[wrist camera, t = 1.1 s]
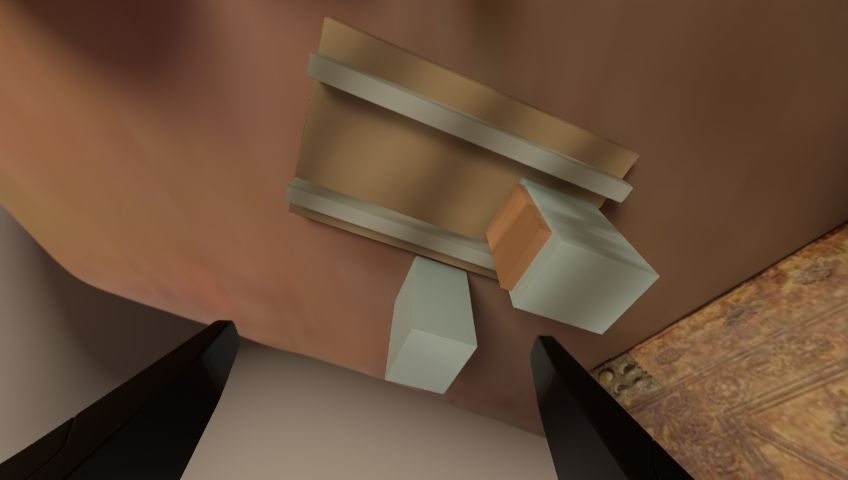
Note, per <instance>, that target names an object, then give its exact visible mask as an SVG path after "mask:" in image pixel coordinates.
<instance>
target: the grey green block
mask: <svg viewBox="0 0 848 480" xmlns="http://www.w3.org/2000/svg"><path fill="white" fill-rule="evenodd" d="M476 348H477V341H476V334H475V327H474V320H473V313H472V307H471V300H470V293H469V286H468V279H467V272H466V271H463V270H460V269H457V268H454V267H451V266H448V265H445V264H442V263H439V262H436V261H433V260H430V259H426V258H423V257H420V256H416V258H415V260H414V262H413V264H412V266H411V268H410V271H409V273H408V275H407V277H406V279H405V281H404V284H403V286H402V288H401V290H400V292H399V294H398V297H397V299H396V301H395V305H394V313H393V321H392V328H391V336H390V344H389V352H388V359H387V367H386V375H385V380H388V381H392V382H396V383H400V384H404V385H408V386H412V387H416V388H420V389H425V390H429V391H433V392H437V393H441V394H444V393H445V391H446V390H447V388H448V387H449V386H450V384H451V383H452V381H453V380H454V379H455V377H456V376H457V374H458V373H459V372H460V370H461V369H462V368H463V366H464V365H465V363H466V362H467V361H468V359H469V358H470V356H471V355H472V354H473V352H474V351H475V349H476Z"/></svg>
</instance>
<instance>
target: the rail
mask: <svg viewBox="0 0 848 480" xmlns="http://www.w3.org/2000/svg"><path fill="white" fill-rule="evenodd" d="M306 76H309V77H311V78H313V83H312V88H311V94H310V99H309V105H308V110H307V115H306V121H305V126H304V131H303V137H302V142H301V147H300V153H299V158H298V163H297V169H296V174H295V177H294V179H293V180H292V181H291V182H290V183H289V184H288V185H287V189H286V194H285V200H284V201H287V202H290V206H289V212H291V213H295V214H298V215H301V216H304V217H307V218H310V219H313V220H316V221H319V222H322V223H325V224H328V225H331V226H334V227H337V228H340V229H344V230H347V231H350V232H353V233H356V234H359V235H362V236H365V237H368V238H371V239H374V240H377V241H380V242H383V243H386V244H389V245H393V246H396V247H399V248H402V249H405V250H408V251H411V252H414V253H417V254H420V255H423V256H426V257H429V258H432V259H435V260H439V261H442V262H445V263H448V264H451V265H454V266H457V267H460V268H463V269H466V270H469V271H472V272H475V273H478V274H481V275H484V276H488V277H491V278H494V279H497V280H499V283H500V287H501V288H503V289H506V290H508V291H509V294H510V297H511V301H512V304H513V307H515V308H518V309H521V310H525V311H528V312H531V313H534V314H537V315H541V316H544V317H547V318H550V319H553V320H557V321H560V322H563V323H566V324H569V325H573V326H576V327H579V328H582V329H585V330H589V331H592V332H595V333H598V334H601V335H602V334H603V333H604V332H605V331H606V330H607V329H608V328H609V327H610V326H611V325H612V324H613V323H614V322H615V321H616V320H617V319H618V318H619V317H620V316H621V315H622V314H623V313H624V312H625V311H626V310H627V309H628V308H629V307H630V306H631V305H632V304H633V303H634V302H635V301H636V300H637V299H638V298H639V297H640V296H641V295H642V294H643V293H644V292H645V291H646V290H647V289H648V288H649V287H650V286H651V285H652V284H653V283H654V282H655V281H656V280H657V279H658V278H659V277H660V276H659V275H658V274H657V273H656V272H655V271H654V270H653V269H652V267H651V266H650V265H649V264H648V263H647V262H646V261H645V260H644V259H643V258H642V257H641V256H640V254H639V253H638V252H637V251H636V250H635V249H634V248H633V247H632V246H631V245H630V244H629V242H628V241H627V240H626V239H625V238H624V237H623V236H622V235H621V234H620V233H619V232H618V230H617V229H616V228H615V227H614V226H613V225H612V224H611V223H610V222H609V221H608V220H607V218H606V217H605V216H604V215H603V214H602V213H601V212H600V211H599V208H600V207H601V206H602V204H603V203H604V202H605V201H606V199H607V198H610V199H613V200H615V201H618V202H620V203H622V202H623V200H624V199H625V198H626V197H627V195H628V194H629V193H630V192H631V190H632V189H633V187H632V186H630V185H629V184H628V183H627V182H625V181H624V180H623V179H622V178H623V177H624V176H625V174H626V173H627V172H628V170H629V169H630V168H631V166H632V165H633V164H634V162H635V161H636V160H637V158H638V157H639V156H640V155H638V154H636V153H635V152H633V151H631V150H630V149H628V148H626V147H623V146H621V145H619V144H617V143H614V142H612V141H610V140H608V139H605V138H603V137H601V136H599V135H596V134H594V133H592V132H590V131H587V130H585V129H583V128H580V127H578V126H576V125H574V124H571V123H569V122H567V121H565V120H562V119H560V118H558V117H556V116H553V115H551V114H549V113H547V112H544V111H542V110H540V109H538V108H535V107H533V106H531V105H529V104H526V103H524V102H522V101H520V100H517V99H515V98H513V97H511V96H508V95H506V94H504V93H501V92H499V91H497V90H495V89H492V88H490V87H488V86H486V85H483V84H481V83H479V82H477V81H474V80H472V79H470V78H468V77H465V76H463V75H461V74H459V73H456V72H454V71H452V70H450V69H447V68H445V67H443V66H441V65H438V64H436V63H434V62H431V61H429V60H427V59H425V58H422V57H420V56H418V55H416V54H413V53H411V52H409V51H407V50H404V49H402V48H400V47H398V46H395V45H393V44H391V43H389V42H386V41H384V40H382V39H380V38H377V37H375V36H373V35H371V34H368V33H366V32H364V31H362V30H359V29H357V28H355V27H352V26H350V25H348V24H346V23H343V22H341V21H339V20H337V19H334V18H332V17H325V19H324V24H323V30H322V35H321V40H320V46H319V51H316V52H312V53H310V58H309V63H308V69H307V75H306Z"/></svg>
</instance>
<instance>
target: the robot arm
mask: <svg viewBox="0 0 848 480" xmlns="http://www.w3.org/2000/svg"><path fill="white" fill-rule="evenodd" d="M239 346H240V338H239V335H238V332H237V329H236V327H235V324H234V322H233V321H231V320H217V321H215V322H213V323H212V324H210V325H209V326H208V327H206V328H205V329H203V330H202V331H200V332H199V333H197V334H196V335H194V336H193V337H191V338H190V339H188V340H187V341H185V342H184V343H182V344H181V345H179V346H178V347H176V348H175V349H173V350H172V351H170V352H169V353H167V354H166V355H164V356H163V357H161V358H160V359H159V360H157V361H155V362H154V363H152V364H151V365H149V366H148V367H147V368H145V369H144V370H142V371H141V372H139V373H138V374H136V375H135V376H133V377H132V378H130V379H129V380H127V381H126V382H124V383H123V384H121V385H120V386H118V387H117V388H115V389H114V390H112V391H111V392H109V393H108V394H106V395H105V396H103V397H102V398H100V399H99V400H97V401H96V402H94V403H93V404H91V405H90V406H89V407H87V408H85V409H84V410H83V411H81V412H80V413H78V414H77V415H76V416H75V417H72V418H70V419H69V420H67V421H66V422H64V423H63V424H62V425H60V426H58V427H57V428H55V429H54V430H53V431H51V432H49V433H48V434H47V435H45V436H43V437H42V438H40V439H39V440H37V441H36V442H34V443H33V444H31V445H30V446H28V447H27V448H25V449H23V450H22V451H20V452H19V453H17V454H15V455H14V456H12V457H11V458H9V459H7V460H6V461H4V462H2V463H1V464H0V480H180V479H181V477H182V475H183V473H184V470H185V469H186V467H187V465H188V463H189V461H190V458H191V457H192V454H193V453H194V450H195V448H196V446H197V444H198V442H199V440H200V438H201V436H202V434H203V432H204V430H205V428H206V426H207V424H208V422H209V420H210V418H211V416H212V414H213V412H214V410H215V408H216V406H217V404H218V402H219V399H220V397H221V395H222V392H223V390H224V387H225V385H226V382H227V379H228V376H229V374H230V371H231V368H232V366H233V363H234V360H235V357H236V355H237V352H238V350H239ZM530 359H531V366H532V372H533V378H534V384H535V390H536V396H537V402H538V407H539V412H540V416H541V420H542V423H543V427H544V430H545V434H546V437H547V441H548V445H549V448H550V452H551V455H552V459H553V462H554V466H555V469H556V473H557V476H558V480H695V479H694V478H693V477H692V476H691V475H690V474H689V473H688V472H687V471H686V470H685V469H684V468H683V467H682V466H681V465H680V464H679V463H678V462H677V461H676V460H675V459H674V458H673V457H671V456H670V455H669V454H668V453H667V452H666V451H665V450H664V449H663V447H662V446H661V445H660V444H659V443H658V442H657V441H655V440H653V438H652V436H651V435H650V434H649V433H648V432H647V431H646V430H645V429H644V428H643V427H642V426H641V425H640V424H639V423H638V422H637V421H636V420H635V419H634V418H633V417H632V416H631V415H630V414H629V413H628V412H627V411H626V410H625V409H624V408H623V407H622V406H621V405H620V404H619V403H618V402H617V401H616V400H615V399H614V398H613V397H612V396H611V395H610V394H609V393H608V392H607V391H606V390H605V389H604V388H603V387H602V386H601V385H600V384H599V383H598V382H597V381H596V380H595V379H594V378H593V377H592V376H591V375H590V374H589V373H588V372H587V371H586V370H585V369H584V368H583V367H582V366H581V364H580V363H579V362H578V361H577V360H576V359H575V358H574V357H573V356H572V355H571V354H570V353H569V352H568V351H567V350H566V349H565V348H564V347H563V346H562V345H561V344H560V343H559V342H558V341H557V340H556V339H555V338H554V337H553V336H551V335H537V337H536V339H535V342H534V344H533V347H532V350H531V354H530Z"/></svg>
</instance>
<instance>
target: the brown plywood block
mask: <svg viewBox="0 0 848 480" xmlns="http://www.w3.org/2000/svg"><path fill="white" fill-rule="evenodd" d="M588 373H589V374H590V375H591V376H592V377H593V378H594V379H595V380H596V381H597V382H598V383H599V384H600V385H601V386H602V387H603V388H604V389H605V390H606V391H607V392H608V393H609V394H610V395H611V396H612V397H613V398H614V399H615V400H616V401H617V402H618V403H619V404H620V405H621V406H622V407H623V408H624V409H625V410H626V411H627V412H628V413H629V414H630V415H631V416H632V417H633V418H634V419H635V420H636V421H637V422H638V423H639V424H640V425H641V426H642V427H643V428H644V429H645V430H646V431H647V432H648V433H649V434H650V435H651V436H652V438H653V440H655V441H657V442H658V443H659V444H660V445H661V446H662V447H663V449H664V450H665V451H666V452H667V453H668V454H669V455H670V456H671V457H673V458H674V459H675V460H676V461H677V462H678V463H679V464H680V465H681V466H682V467H683V468H684V469H685V470H686V471H687V472H688V473H689V474H690V475H691V476H692V477H693V478H694V479H695V480H848V221H847V222H845V223H843V224H842V225H840V226H838V227H836V228H835V229H833V230H831V231H830V232H828V233H826V234H824V235H823V236H821V237H819V238H817V239H816V240H814V241H812V242H811V243H809V244H807V245H805V246H804V247H802V248H800V249H798V250H797V251H795V252H793V253H792V254H790V255H788V256H786V257H785V258H783V259H781V260H779V261H778V262H776V263H774V264H773V265H771V266H769V267H767V268H766V269H764V270H762V271H760V272H759V273H757V274H755V275H754V276H752V277H750V278H748V279H747V280H745V281H743V282H741V283H740V284H738V285H736V286H735V287H733V288H731V289H729V290H728V291H726V292H724V293H722V294H721V295H719V296H717V297H716V298H714V299H712V300H710V301H709V302H707V303H705V304H703V305H702V306H700V307H698V308H696V309H695V310H693V311H691V312H690V313H688V314H686V315H684V316H683V317H681V318H679V319H677V320H676V321H674V322H672V323H671V324H669V325H667V326H665V327H664V328H662V329H660V330H658V331H657V332H655V333H653V334H652V335H650V336H648V337H646V338H645V339H643V340H641V341H639V342H638V343H636V344H634V345H633V346H631V347H629V348H627V349H626V350H624V351H622V352H620V353H619V354H617V355H615V356H614V357H612V358H610V359H608V360H607V361H605V362H603V363H601V364H600V365H598V366H596V367H595V368H593V369H591V370H589V372H588Z"/></svg>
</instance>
